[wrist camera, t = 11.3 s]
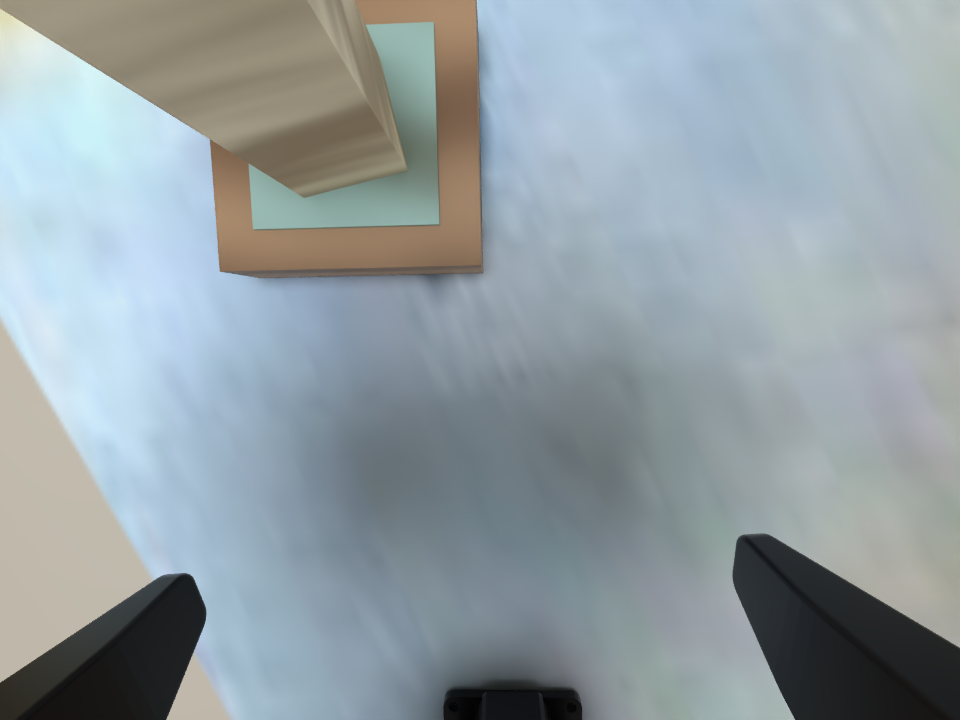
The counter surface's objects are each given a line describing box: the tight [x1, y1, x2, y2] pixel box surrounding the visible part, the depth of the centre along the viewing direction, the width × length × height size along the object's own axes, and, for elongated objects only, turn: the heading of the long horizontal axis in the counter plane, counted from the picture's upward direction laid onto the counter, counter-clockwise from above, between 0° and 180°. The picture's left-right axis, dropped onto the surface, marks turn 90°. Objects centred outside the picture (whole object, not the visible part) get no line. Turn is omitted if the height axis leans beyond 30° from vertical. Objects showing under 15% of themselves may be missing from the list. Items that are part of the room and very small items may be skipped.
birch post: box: [0, 0, 408, 198], centre depth 11 cm, size 4×4×10 cm
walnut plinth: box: [210, 0, 483, 278], centre depth 18 cm, size 10×10×3 cm
